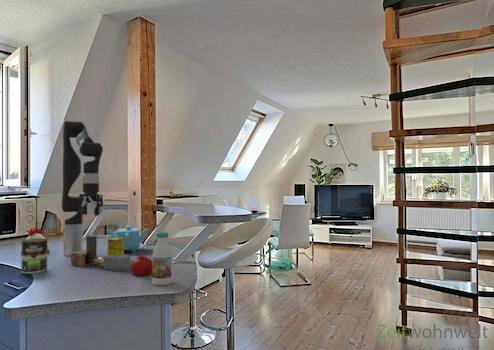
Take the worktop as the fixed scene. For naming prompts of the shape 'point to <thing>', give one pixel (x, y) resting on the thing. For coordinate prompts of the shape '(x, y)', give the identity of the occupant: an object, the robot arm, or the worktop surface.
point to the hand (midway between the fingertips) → (90, 215)
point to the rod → (92, 251)
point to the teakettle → (130, 237)
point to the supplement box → (116, 246)
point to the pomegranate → (141, 265)
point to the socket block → (79, 259)
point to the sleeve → (117, 262)
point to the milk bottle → (162, 261)
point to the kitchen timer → (36, 236)
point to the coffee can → (34, 256)
